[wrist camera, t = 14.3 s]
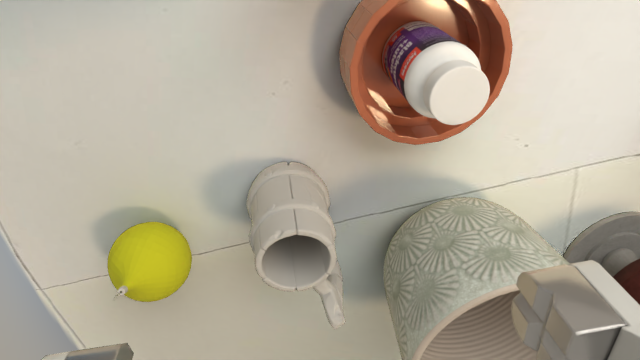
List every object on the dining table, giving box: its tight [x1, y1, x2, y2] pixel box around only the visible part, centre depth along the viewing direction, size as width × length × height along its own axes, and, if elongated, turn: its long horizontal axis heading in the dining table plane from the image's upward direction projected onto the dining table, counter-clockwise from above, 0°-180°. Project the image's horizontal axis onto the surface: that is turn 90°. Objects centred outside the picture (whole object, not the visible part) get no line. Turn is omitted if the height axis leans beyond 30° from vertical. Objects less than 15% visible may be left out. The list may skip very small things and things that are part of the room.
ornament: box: [108, 222, 192, 302], centre depth 38 cm, size 7×7×10 cm
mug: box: [246, 162, 346, 329], centre depth 38 cm, size 8×12×12 cm, turn 31°
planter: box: [384, 197, 570, 360], centre depth 41 cm, size 17×17×15 cm
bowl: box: [339, 0, 512, 145], centre depth 34 cm, size 12×12×5 cm
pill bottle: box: [382, 21, 490, 125], centre depth 32 cm, size 5×5×10 cm
